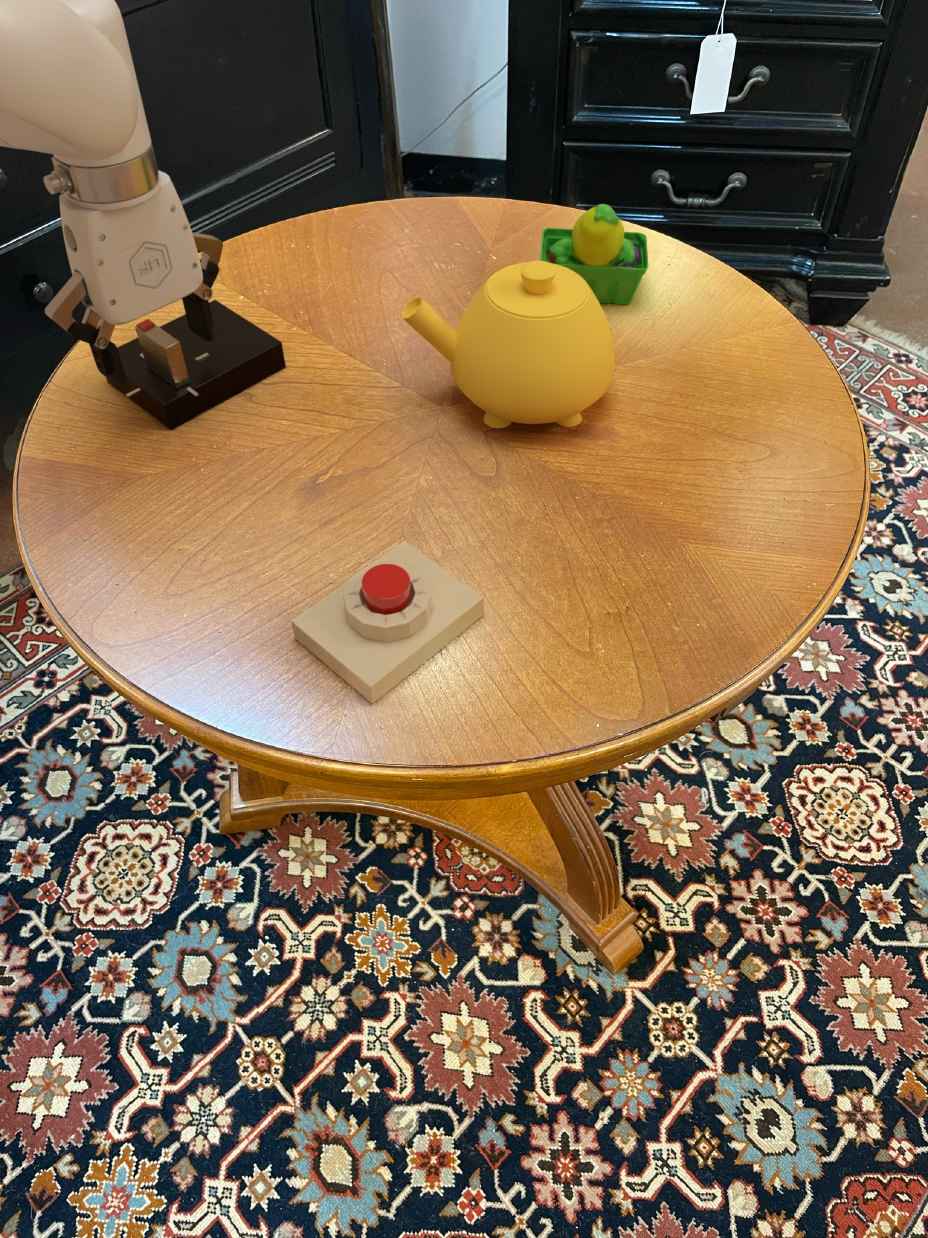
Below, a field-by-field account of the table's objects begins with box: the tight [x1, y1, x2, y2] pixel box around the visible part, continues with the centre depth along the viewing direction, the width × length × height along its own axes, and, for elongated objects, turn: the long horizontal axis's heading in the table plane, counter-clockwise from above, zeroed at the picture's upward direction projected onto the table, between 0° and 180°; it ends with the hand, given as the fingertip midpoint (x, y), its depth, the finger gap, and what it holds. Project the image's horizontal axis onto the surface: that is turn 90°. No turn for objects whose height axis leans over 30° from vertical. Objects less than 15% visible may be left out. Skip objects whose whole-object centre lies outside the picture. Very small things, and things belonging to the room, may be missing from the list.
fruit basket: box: [539, 203, 649, 305], centre depth 101 cm, size 11×9×11 cm
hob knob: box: [134, 318, 190, 389], centre depth 89 cm, size 5×2×5 cm, turn 45°
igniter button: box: [362, 564, 411, 614], centre depth 72 cm, size 4×4×2 cm
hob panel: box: [105, 299, 287, 431], centre depth 94 cm, size 16×12×3 cm
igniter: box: [291, 540, 485, 705], centre depth 74 cm, size 12×9×4 cm
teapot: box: [400, 260, 616, 429], centre depth 89 cm, size 20×16×14 cm
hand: (159, 355), depth 89 cm, fingers open, 9 cm apart
